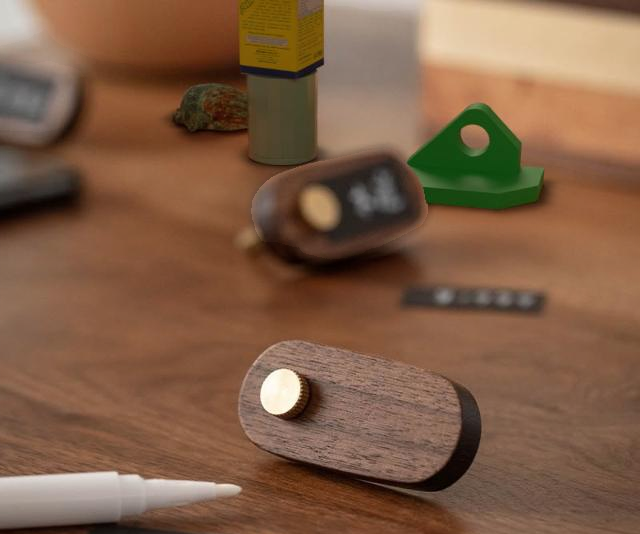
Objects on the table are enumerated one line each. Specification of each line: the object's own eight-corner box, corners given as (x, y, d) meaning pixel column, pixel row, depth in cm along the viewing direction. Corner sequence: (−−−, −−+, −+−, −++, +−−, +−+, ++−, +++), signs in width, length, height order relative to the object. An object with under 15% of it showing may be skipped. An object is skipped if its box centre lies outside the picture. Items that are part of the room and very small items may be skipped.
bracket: (391, 199, 111) (393, 121, 108) (409, 171, 118) (411, 97, 115) (532, 212, 108) (538, 132, 106) (543, 183, 115) (549, 107, 112)
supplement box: (268, 59, 123) (266, -61, 118) (325, 66, 121) (326, -56, 116) (237, 73, 118) (234, -51, 113) (296, 81, 116) (296, -46, 111)
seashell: (283, 74, 132) (221, 97, 125) (286, 114, 134) (225, 139, 127) (207, 68, 138) (143, 89, 131) (211, 107, 140) (148, 130, 132)
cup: (241, 163, 120) (239, 77, 117) (257, 142, 126) (255, 60, 123) (309, 167, 119) (309, 81, 116) (322, 146, 125) (323, 63, 121)
